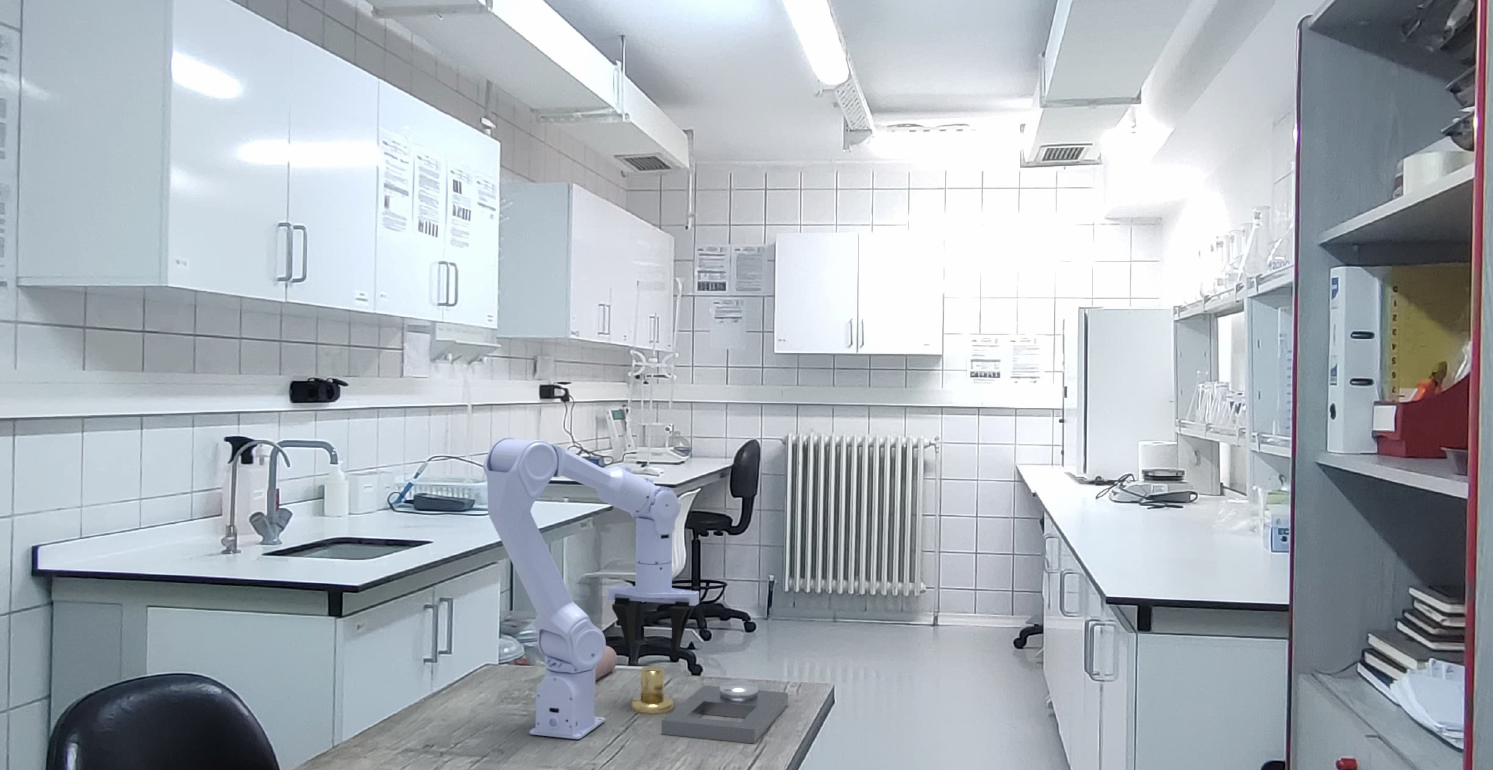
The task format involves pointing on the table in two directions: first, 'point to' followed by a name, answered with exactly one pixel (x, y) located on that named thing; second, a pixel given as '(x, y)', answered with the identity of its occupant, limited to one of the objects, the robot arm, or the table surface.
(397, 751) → the table surface
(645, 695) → the gold flanged round piece
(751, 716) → the carrier plate
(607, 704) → the table surface
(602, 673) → the coil
